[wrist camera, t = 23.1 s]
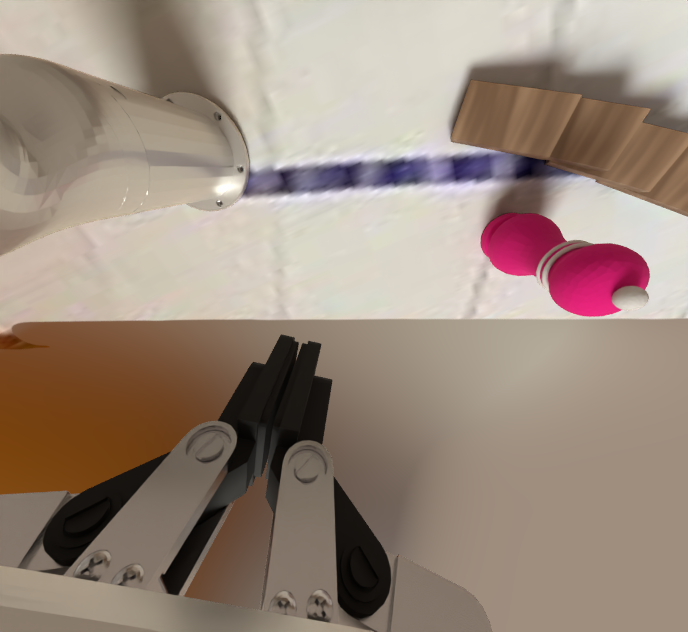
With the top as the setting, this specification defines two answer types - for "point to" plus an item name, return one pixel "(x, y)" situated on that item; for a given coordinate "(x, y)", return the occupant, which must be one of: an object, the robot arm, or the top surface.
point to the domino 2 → (597, 134)
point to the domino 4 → (667, 187)
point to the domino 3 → (639, 159)
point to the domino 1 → (513, 118)
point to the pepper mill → (567, 265)
